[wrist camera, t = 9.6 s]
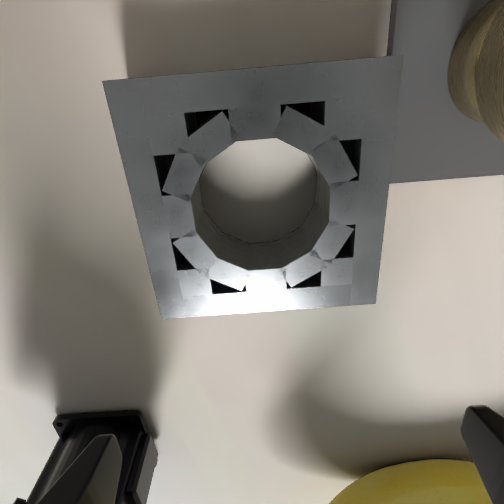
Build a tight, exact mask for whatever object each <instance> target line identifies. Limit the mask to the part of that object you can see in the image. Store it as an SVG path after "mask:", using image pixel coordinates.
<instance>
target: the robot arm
mask: <svg viewBox="0 0 504 504" xmlns="http://www.w3.org/2000/svg"><path fill="white" fill-rule="evenodd" d="M53 426H54V428H55V430H56V432H57V433H58V435H59V437H60V438H59V440H58V442H57V443H56V445H55V447H54V449H53V451H52V453H51V455H50V457H49V459H48V461H47V463H46V465H45V467H44V469H43V471H42V472H41V474H40V476H39V478H38V480H37V482H36V484H35V486H34V488H33V490H32V492H31V494H30V496H29V498H28V499H27V501H26V500H24V499H21V498H18V497H17V499H16V500H15V502H14V503H13V504H146V502H147V498H148V493H149V489H150V485H151V480H152V476H153V472H154V468H155V467H156V465H157V451H156V448H155V445H154V442H153V439H152V436H151V435H150V434H149V433H148V430H147V427H146V424H145V421H144V418H143V415H142V413H141V412H139V411H137V410H131V411H116V412H101V413H86V414H71V415H59V416H57V417H56V418H55V420H54V421H53ZM461 434H462V437H463V440H464V442H465V444H466V446H467V448H468V451H469V453H470V455H471V457H472V460H473V462H474V464H475V466H476V468H477V471H478V473H479V475H480V477H481V480H482V482H483V484H484V486H485V488H486V491H487V493H488V495H489V497H490V499H491V501H492V503H493V504H504V418H503V417H502V416H501V415H499V414H498V413H496V412H495V411H493V410H492V409H490V408H489V407H487V406H484V405H475V406H469V407H467V408H466V411H465V414H464V418H463V421H462V424H461Z"/></svg>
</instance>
